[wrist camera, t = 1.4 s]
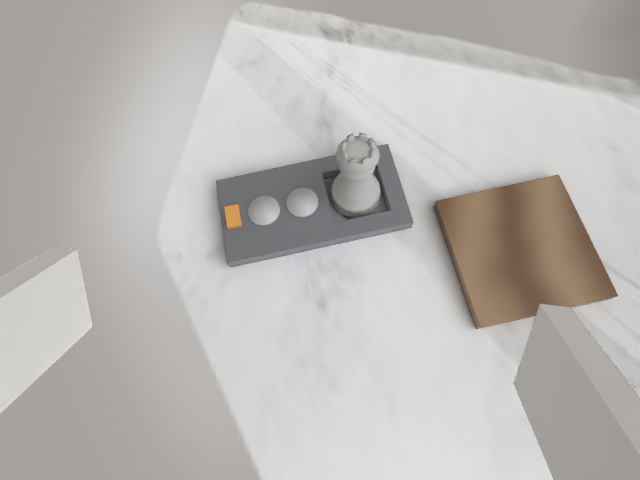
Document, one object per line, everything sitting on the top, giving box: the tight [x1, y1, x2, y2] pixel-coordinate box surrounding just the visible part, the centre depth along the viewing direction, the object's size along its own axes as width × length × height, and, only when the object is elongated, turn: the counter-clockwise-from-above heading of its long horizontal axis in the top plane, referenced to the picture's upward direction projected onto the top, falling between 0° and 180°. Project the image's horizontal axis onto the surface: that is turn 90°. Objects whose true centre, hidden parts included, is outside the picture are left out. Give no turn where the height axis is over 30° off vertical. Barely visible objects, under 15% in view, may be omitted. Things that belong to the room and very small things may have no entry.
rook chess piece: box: [331, 133, 381, 218], centre depth 33 cm, size 4×4×8 cm
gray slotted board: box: [216, 144, 413, 267], centre depth 36 cm, size 16×8×2 cm, turn 102°
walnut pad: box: [434, 175, 618, 329], centre depth 34 cm, size 11×11×1 cm
